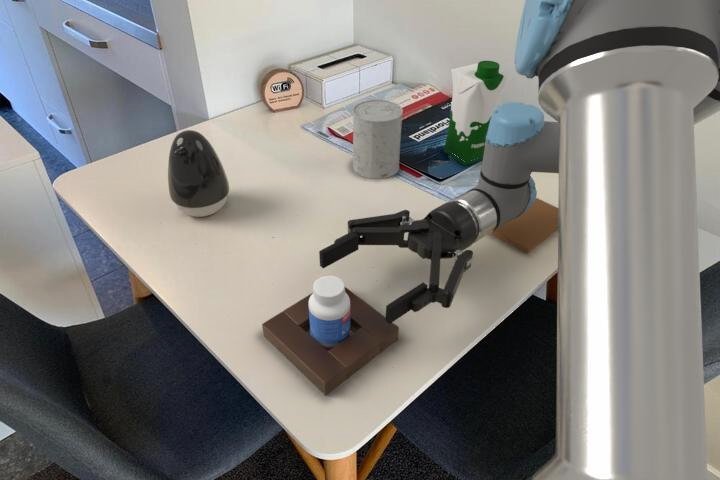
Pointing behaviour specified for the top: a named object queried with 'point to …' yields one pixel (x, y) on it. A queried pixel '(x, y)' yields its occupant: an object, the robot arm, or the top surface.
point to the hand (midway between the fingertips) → (352, 286)
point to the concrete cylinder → (376, 138)
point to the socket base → (340, 360)
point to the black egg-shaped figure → (196, 175)
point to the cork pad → (530, 226)
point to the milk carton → (473, 109)
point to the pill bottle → (329, 312)
